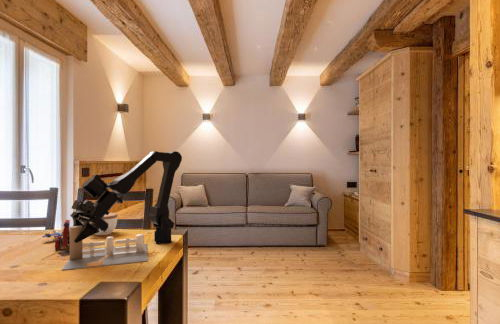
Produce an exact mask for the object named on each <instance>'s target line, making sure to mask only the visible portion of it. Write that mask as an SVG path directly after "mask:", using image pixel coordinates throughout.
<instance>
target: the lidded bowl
mask: <svg viewBox="0 0 500 324" xmlns="http://www.w3.org/2000/svg"><path fill="white" fill-rule="evenodd" d="M102 219H103V220H104V221H105V222H107V223H108V229H107V230H106V231H105V232H103V231H101V230H100V229H99V231H100V232H99V233H95V234H94V235H96V236H107V235H111V234H112V233H113V231H114V230H116V227H117V224H118V213H116V212H109V214H108V215H105V216H104V217H103V218H102Z"/></svg>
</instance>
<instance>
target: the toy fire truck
mask: <svg viewBox="0 0 500 324" xmlns="http://www.w3.org/2000/svg"><path fill="white" fill-rule="evenodd" d="M70 222H71V221H70V219H66V220H65V221H64V223H63V230H64V231H63V230H62V231H63V232H61V233H62V236H58V235H57V236H58V237H56V238H57V239H56V238H55V240H54V250H60V249H61V248H68V247H69V246H70V240H68V239H67V237H68V235H69V233H70V227H71V226H70Z"/></svg>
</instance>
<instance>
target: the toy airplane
mask: <svg viewBox="0 0 500 324" xmlns="http://www.w3.org/2000/svg"><path fill="white" fill-rule="evenodd" d="M63 231H64V229H62V232H63ZM52 232H53V233H45V234H44V235H43V236H41V237H42V238H52V237H53V238H55V240H56V239H57V237H58V236H62V232H60V231H58V230H56V229H55V230H54V231H53V230H52Z"/></svg>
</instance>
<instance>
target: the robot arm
mask: <svg viewBox="0 0 500 324" xmlns="http://www.w3.org/2000/svg"><path fill="white" fill-rule="evenodd" d="M182 160H183V156H182V154H181V153H180V152H179V151H175V150H174V151H166V152H164V151H163V152H162V151H157V150H156V151H150V152H149V153H148V154H147V155H146V156H144V157H143V158H142V160H140V161H139V162H138V163H137V164H136V165H135V166H133V167H132V168H131V169H130V170H129V171H128V172H125V173H123V174H122V175H120V176H118V177H116V178H115V179H113V180H112V181H111V182H105V181H104V180H103V179H102V178H101V177H100V176H99V175H98V174H93V175H92V176H91V177H90V178H88V179H86V180H85V181H84V182H83V183H82V184H81V189H83V190H84V191H85V192H86V193H87V194H89V195H90V196H91V197H92V198H96V197H97V198H98V199H96V201H95V202H93V201H91V200H88V199H85V200H84V201H81V200H78V199H76V200H74V202H73V204H72V205H71V209H72V210H74V211H73V212H72V213H71V214H70V217H71V218H72V220H73V222H72V223H73V225H72V226H82V230H81V232H80V233H79V234H78V236H77V237H76V239H75V240H74V242H75V243H78V242H80V241H81V240H85V239H87V238H89V237H91V236H93V235H95V233H99V232H100V231H99V229H100V230H101V231H103V232H105V231H106V230H107V229H108V223H107V222H105V221H104V220H103V219H102V218H103V217H104V216H105V215H108V214H109V213H110V212H109V211H110V210H111V209H112V208H113V206H114V205H115V204H116V203H117V204H123V202H124V201H123V196H121V194H122V195H126V194H127V193H129V192H130V191H131V189H132V188H133V187H134V186H135V184H136V181H137V180H138V179H139V178H140V177H141V176H142V175H143V174H145V173H146V172H147V171H148V170H149V169H150V168H151V167H152V166H153V165H155V163H157V162H162V169H163V173H162V177H161V182H160V187H159V190H158V194H157V200H156V203H155V204H154V205H150V208H149V213H148V217H149V221H150V223H152V225H153V227H154V228H155V230H154V232H153V233H154V234H153V236H154V237H153V239H154V242H155V244H157V245H160V244H161V245H162V244H170V243H173V241H172V229H174V226H175V222H174V221H173V220H171V218H170V209H169V201H170V198H171V192H172V188H173V184H174V183H173V182H174V178H175V173H176V171H178V169H179V168H180V166H181V163H182ZM111 190H112V192H111ZM118 194H120V196H119V195H118ZM75 210H77V211H75ZM67 239H68V240H70V233H69V235H68V237H67Z"/></svg>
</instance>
